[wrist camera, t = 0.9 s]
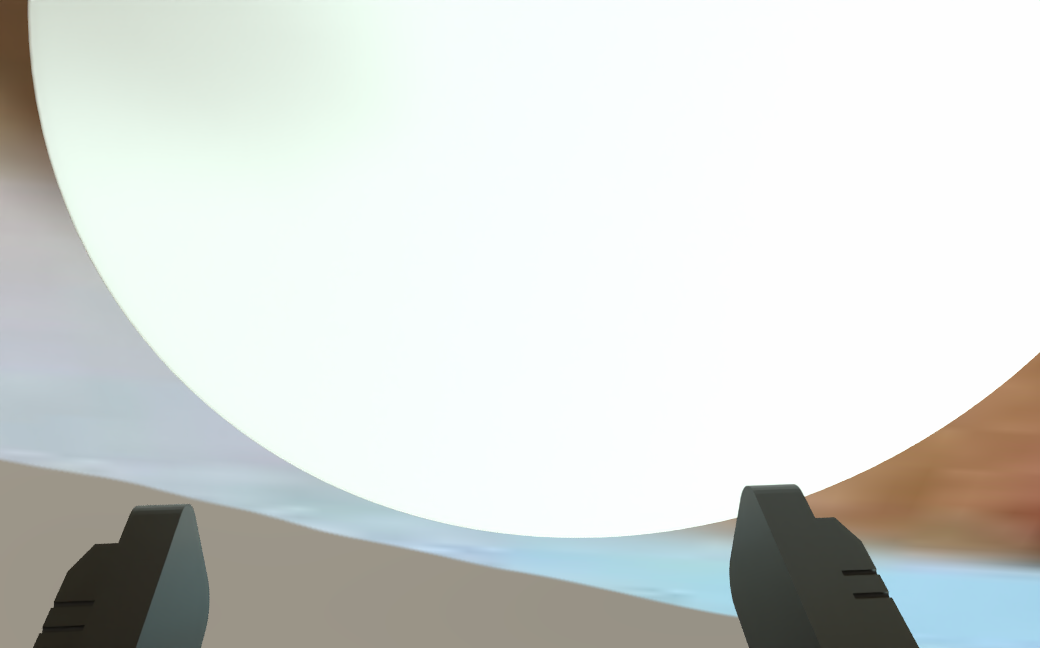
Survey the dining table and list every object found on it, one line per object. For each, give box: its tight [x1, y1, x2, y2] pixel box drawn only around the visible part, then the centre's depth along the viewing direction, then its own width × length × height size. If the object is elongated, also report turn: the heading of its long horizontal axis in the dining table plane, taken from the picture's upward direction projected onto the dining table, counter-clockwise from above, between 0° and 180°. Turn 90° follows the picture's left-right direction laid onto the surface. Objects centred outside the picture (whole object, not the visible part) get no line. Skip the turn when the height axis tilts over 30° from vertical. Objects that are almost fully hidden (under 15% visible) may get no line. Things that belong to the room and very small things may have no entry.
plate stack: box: [28, 0, 1040, 538], centre depth 28 cm, size 28×28×12 cm
